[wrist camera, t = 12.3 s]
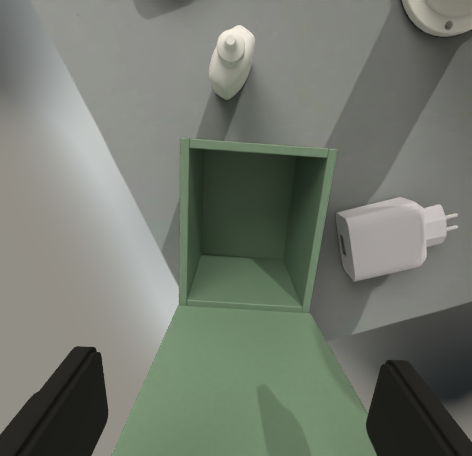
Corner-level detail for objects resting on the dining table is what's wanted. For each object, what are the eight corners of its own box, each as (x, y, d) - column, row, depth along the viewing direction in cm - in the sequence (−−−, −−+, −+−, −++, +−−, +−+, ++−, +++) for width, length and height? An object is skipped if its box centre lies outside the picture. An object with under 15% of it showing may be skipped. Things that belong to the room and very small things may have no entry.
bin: (199, 139, 35) (179, 137, 23) (302, 147, 35) (338, 149, 23) (196, 256, 40) (178, 306, 28) (286, 262, 40) (308, 314, 28)
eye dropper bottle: (260, 81, 33) (274, 49, 22) (220, 104, 34) (213, 85, 22) (244, 45, 32) (249, -10, 20) (203, 69, 33) (186, 30, 21)
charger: (444, 245, 40) (342, 268, 41) (442, 184, 37) (333, 211, 38) (471, 258, 35) (355, 284, 36) (471, 190, 32) (347, 220, 33)
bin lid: (83, 517, 10) (87, 618, 11) (437, 533, 10) (413, 630, 11) (178, 305, 27) (176, 351, 28) (310, 313, 28) (304, 358, 29)
